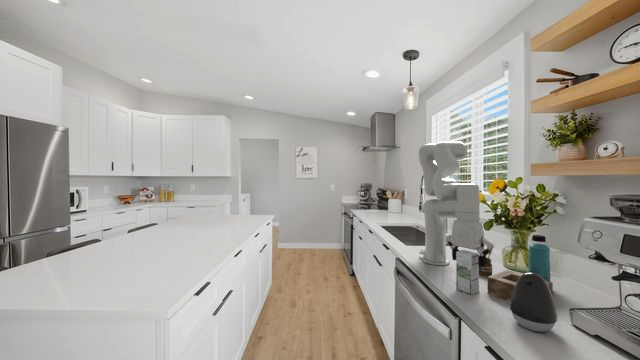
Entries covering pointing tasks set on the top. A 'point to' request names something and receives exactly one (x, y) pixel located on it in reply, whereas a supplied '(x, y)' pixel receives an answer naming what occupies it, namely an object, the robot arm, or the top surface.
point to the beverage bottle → (539, 258)
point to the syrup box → (467, 271)
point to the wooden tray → (506, 284)
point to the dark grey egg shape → (533, 303)
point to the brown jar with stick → (486, 267)
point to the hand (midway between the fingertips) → (468, 262)
